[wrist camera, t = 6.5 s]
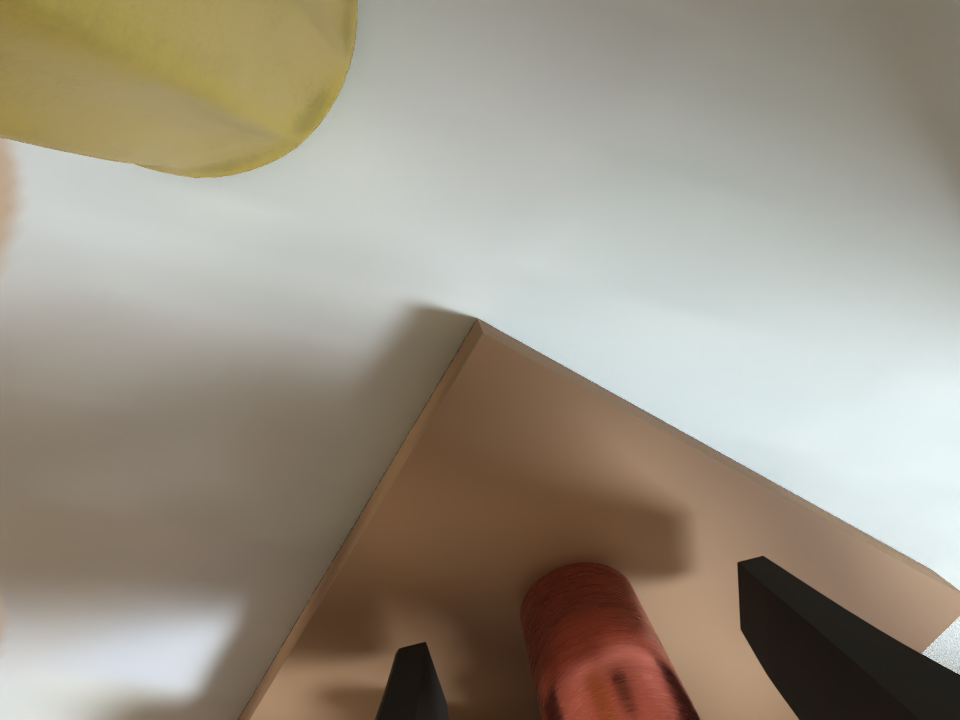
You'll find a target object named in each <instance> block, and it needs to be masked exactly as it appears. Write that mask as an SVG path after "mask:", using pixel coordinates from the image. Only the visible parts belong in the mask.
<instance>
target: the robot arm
mask: <svg viewBox="0 0 960 720" xmlns="http://www.w3.org/2000/svg"><path fill="white" fill-rule="evenodd" d="M737 569H738V589H739V610H740V629H741V631H742V633H743V635H744V636H745V638H746V640H747V642H748V643H749V645H750V647H751V649H752V650H753V652H754V654H755V656H756V657H757V659H758V661H759V662H760V664H761V666H762V667H763V669H764V671H765V672H766V674H767V676H768V677H769V679H770V680H771V681H772V683H773V684H774V686H775V687H776V688H777V690H778V691H779V693H780V694H781V695H782V697H783V698H784V700H785V701H786V702H787V704H788V705H789V706H790V708H791V709H792V711H793V712H794V713H795V715H796V716H797V717H798V719H799V720H960V675H959V674H957V673H955V672H953V671H951V670H950V669H948V668H946V667H944V666H942V665H940V664H938V663H937V662H935V661H933V660H931V659H929V658H928V657H926V656H924V655H922V654H921V653H919V652H917V651H915V650H913V649H912V648H910V647H908V646H906V645H905V644H903V643H901V642H899V641H898V640H896V639H894V638H893V637H891V636H889V635H888V634H886V633H884V632H882V631H881V630H879V629H878V628H876V627H874V626H873V625H871V624H869V623H868V622H866V621H864V620H863V619H861V618H860V617H858V616H856V615H855V614H853V613H851V612H850V611H848V610H847V609H845V608H843V607H842V606H840V605H839V604H837V603H836V602H834V601H832V600H831V599H829V598H828V597H826V596H825V595H823V594H821V593H820V592H818V591H817V590H815V589H814V588H812V587H811V586H809V585H808V584H806V583H805V582H803V581H801V580H800V579H798V578H797V577H795V576H794V575H792V574H791V573H789V572H788V571H786V570H785V569H783V568H782V567H780V566H779V565H777V564H775V563H774V562H772V561H771V560H769V559H768V558H766V557H765V556H760V557H756V558H752V559H748V560H744V561H740V562H737ZM375 720H449V715H448V705H447V702H446V699H445V696H444V693H443V690H442V687H441V684H440V682H439V679H438V676H437V673H436V670H435V667H434V664H433V661H432V658H431V655H430V652H429V649H428V646H427V643H426V642H422V643H418V644H414V645H410V646H406V647H402V648H399V649H398V651H397V652H396V654H395V657H394V661H393V664H392V668H391V671H390V675H389V678H388V681H387V685H386V688H385V691H384V694H383V697H382V700H381V703H380V706H379V709H378V712H377V715H376V718H375Z"/></svg>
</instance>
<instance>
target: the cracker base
mask: <svg viewBox="0 0 960 720" xmlns="http://www.w3.org/2000/svg"><path fill="white" fill-rule="evenodd" d="M760 556H765V557H766V558H768V559H769V560H771V561H772V562H774V563H775V564H777V565H779V566H780V567H782V568H783V569H785V570H786V571H788V572H789V573H791V574H792V575H794V576H795V577H797V578H798V579H800V580H801V581H803V582H805V583H806V584H808V585H809V586H811V587H812V588H814V589H815V590H817V591H818V592H820V593H821V594H823V595H825V596H826V597H828V598H829V599H831V600H832V601H834V602H836V603H837V604H839V605H840V606H842V607H843V608H845V609H847V610H848V611H850V612H851V613H853V614H855V615H856V616H858V617H860V618H861V619H863V620H864V621H866V622H868V623H869V624H871V625H873V626H874V627H876V628H878V629H879V630H881V631H882V632H884V633H886V634H888V635H889V636H891V637H893V638H894V639H896V640H898V641H899V642H901V643H903V644H905V645H906V646H908V647H910V648H912V649H913V650H915V651H917V652H919V653H922V652H923V651H924V650H925V649H926V648H927V647H928V646H929V645H930V644H931V643H932V642H933V641H934V640H935V639H936V638H937V637H938V636H940V635H941V634H942V633H943V632H944V631H945V630H946V629H947V628H948V627H949V626H950V625H951V624H952V623H953V622H954V621H955V620H956V619H957V618H958V617H959V616H960V591H959V590H958V589H957V588H955V587H954V586H953V585H951V584H950V583H949V582H947V581H946V580H945V579H943V578H942V577H941V576H939V575H938V574H937V573H935V572H934V571H933V570H931V569H929V568H927V567H925V566H924V565H922V564H920V563H918V562H916V561H915V560H913V559H911V558H909V557H907V556H905V555H904V554H902V553H900V552H898V551H896V550H895V549H893V548H891V547H889V546H887V545H886V544H884V543H882V542H880V541H878V540H877V539H875V538H873V537H871V536H869V535H868V534H866V533H864V532H862V531H860V530H859V529H857V528H855V527H853V526H851V525H850V524H848V523H846V522H844V521H842V520H841V519H839V518H837V517H835V516H833V515H831V514H830V513H828V512H826V511H824V510H822V509H821V508H819V507H817V506H815V505H813V504H812V503H810V502H808V501H806V500H804V499H803V498H801V497H799V496H797V495H795V494H794V493H792V492H790V491H788V490H786V489H785V488H783V487H781V486H779V485H777V484H776V483H774V482H772V481H770V480H768V479H767V478H765V477H763V476H761V475H759V474H758V473H756V472H754V471H752V470H750V469H748V468H747V467H745V466H743V465H741V464H739V463H738V462H736V461H734V460H732V459H730V458H729V457H727V456H725V455H723V454H721V453H720V452H718V451H716V450H714V449H712V448H711V447H709V446H707V445H705V444H703V443H702V442H700V441H698V440H696V439H694V438H693V437H691V436H689V435H687V434H685V433H684V432H682V431H680V430H678V429H676V428H674V427H673V426H671V425H669V424H667V423H665V422H664V421H662V420H660V419H658V418H656V417H655V416H653V415H651V414H649V413H647V412H646V411H644V410H642V409H640V408H638V407H637V406H635V405H633V404H631V403H629V402H628V401H626V400H624V399H622V398H620V397H619V396H617V395H615V394H613V393H611V392H610V391H608V390H606V389H604V388H602V387H600V386H599V385H597V384H595V383H593V382H591V381H590V380H588V379H586V378H584V377H582V376H581V375H579V374H577V373H575V372H573V371H572V370H570V369H568V368H566V367H564V366H563V365H561V364H559V363H557V362H555V361H554V360H552V359H550V358H548V357H546V356H545V355H543V354H541V353H539V352H537V351H536V350H534V349H532V348H530V347H528V346H526V345H525V344H523V343H521V342H519V341H517V340H516V339H514V338H512V337H510V336H508V335H507V334H505V333H503V332H501V331H499V330H498V329H496V328H494V327H492V326H490V325H489V324H487V323H485V322H483V321H481V320H480V319H478V318H477V320H476V322H475V323H474V325H473V327H472V328H471V330H470V332H469V333H468V335H467V337H466V338H465V340H464V342H463V343H462V345H461V347H460V348H459V350H458V352H457V353H456V355H455V357H454V359H453V360H452V362H451V364H450V365H449V367H448V369H447V370H446V372H445V374H444V375H443V377H442V379H441V380H440V382H439V384H438V385H437V387H436V389H435V390H434V392H433V394H432V395H431V397H430V399H429V400H428V402H427V404H426V405H425V407H424V409H423V411H422V412H421V414H420V416H419V417H418V419H417V421H416V422H415V424H414V426H413V427H412V429H411V431H410V432H409V434H408V436H407V437H406V439H405V441H404V442H403V444H402V446H401V447H400V449H399V451H398V452H397V454H396V456H395V457H394V459H393V461H392V463H391V464H390V466H389V468H388V469H387V471H386V473H385V474H384V476H383V478H382V479H381V481H380V483H379V484H378V486H377V488H376V489H375V491H374V493H373V494H372V496H371V498H370V499H369V501H368V503H367V504H366V506H365V508H364V509H363V511H362V513H361V515H360V516H359V518H358V520H357V521H356V523H355V525H354V526H353V528H352V530H351V531H350V533H349V535H348V536H347V538H346V540H345V541H344V543H343V545H342V546H341V548H340V550H339V551H338V553H337V555H336V556H335V558H334V560H333V561H332V563H331V565H330V566H329V568H328V570H327V572H326V573H325V575H324V577H323V578H322V580H321V582H320V583H319V585H318V587H317V588H316V590H315V592H314V593H313V595H312V597H311V598H310V600H309V602H308V603H307V605H306V607H305V608H304V610H303V612H302V613H301V615H300V617H299V618H298V620H297V622H296V624H295V625H294V627H293V629H292V630H291V632H290V634H289V635H288V637H287V639H286V640H285V642H284V644H283V645H282V647H281V649H280V650H279V652H278V654H277V655H276V657H275V659H274V660H273V662H272V664H271V665H270V667H269V669H268V670H267V672H266V674H265V676H264V677H263V679H262V681H261V682H260V684H259V686H258V687H257V689H256V691H255V692H254V694H253V696H252V697H251V699H250V701H249V702H248V704H247V706H246V707H245V709H244V711H243V712H242V714H241V716H240V717H239V719H238V720H375V718H376V715H377V712H378V709H379V706H380V703H381V700H382V697H383V694H384V691H385V688H386V685H387V681H388V678H389V675H390V671H391V668H392V664H393V661H394V657H395V654H396V652H397V651H398V649H399V648H402V647H406V646H410V645H414V644H418V643H422V642H426V643H427V646H428V649H429V652H430V655H431V658H432V661H433V664H434V667H435V670H436V673H437V676H438V679H439V682H440V684H441V687H442V690H443V693H444V696H445V699H446V702H447V705H448V715H449V720H541V715H540V710H539V706H538V701H537V697H536V692H535V687H534V683H533V678H532V674H531V669H530V665H529V660H528V655H527V651H526V646H525V642H524V637H523V632H522V628H521V623H520V610H521V605H522V603H523V600H524V598H525V596H526V594H527V593H528V591H529V590H530V588H531V587H532V586H533V585H534V584H535V583H536V582H537V581H538V580H539V579H540V578H542V577H543V576H545V575H546V574H548V573H549V572H551V571H553V570H555V569H557V568H560V567H562V566H566V565H569V564H574V563H581V562H594V563H600V564H604V565H608V566H610V567H612V568H614V569H616V570H618V571H619V572H621V573H622V574H623V575H624V576H625V577H626V578H627V579H628V580H629V582H630V584H631V585H632V587H633V589H634V591H635V593H636V595H637V597H638V599H639V601H640V603H641V605H642V607H643V608H644V610H645V612H646V614H647V616H648V618H649V620H650V622H651V624H652V626H653V628H654V630H655V632H656V634H657V635H658V637H659V639H660V641H661V643H662V645H663V647H664V649H665V651H666V653H667V655H668V657H669V659H670V661H671V662H672V664H673V666H674V668H675V670H676V672H677V674H678V676H679V678H680V680H681V682H682V684H683V686H684V688H685V689H686V691H687V693H688V695H689V697H690V699H691V701H692V703H693V705H694V707H695V709H696V711H697V713H698V715H699V716H700V718H701V720H799V719H798V717H797V716H796V715H795V713H794V712H793V711H792V709H791V708H790V706H789V705H788V704H787V702H786V701H785V700H784V698H783V697H782V695H781V694H780V693H779V691H778V690H777V688H776V687H775V686H774V684H773V683H772V681H771V680H770V679H769V677H768V676H767V674H766V672H765V671H764V669H763V667H762V666H761V664H760V662H759V661H758V659H757V657H756V656H755V654H754V652H753V650H752V649H751V647H750V645H749V643H748V642H747V640H746V638H745V636H744V635H743V633H742V631H741V629H740V610H739V589H738V569H737V562H740V561H744V560H748V559H752V558H756V557H760Z"/></svg>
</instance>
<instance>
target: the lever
mask: <svg viewBox="0 0 960 720" xmlns="http://www.w3.org/2000/svg"><path fill="white" fill-rule="evenodd" d="M520 623H521V628H522V632H523V637H524V642H525V646H526V651H527V655H528V660H529V665H530V669H531V674H532V678H533V683H534V687H535V692H536V697H537V701H538V706H539V710H540V715H541V720H701V718H700V716H699V715H698V713H697V711H696V709H695V707H694V705H693V703H692V701H691V699H690V697H689V695H688V693H687V691H686V689H685V688H684V686H683V684H682V682H681V680H680V678H679V676H678V674H677V672H676V670H675V668H674V666H673V664H672V662H671V661H670V659H669V657H668V655H667V653H666V651H665V649H664V647H663V645H662V643H661V641H660V639H659V637H658V635H657V634H656V632H655V630H654V628H653V626H652V624H651V622H650V620H649V618H648V616H647V614H646V612H645V610H644V608H643V607H642V605H641V603H640V601H639V599H638V597H637V595H636V593H635V591H634V589H633V587H632V585H631V584H630V582H629V580H628V579H627V578H626V577H625V576H624V575H623V574H622V573H621V572H619V571H618V570H616V569H614V568H612V567H610V566H608V565H604V564H600V563H594V562H581V563H574V564H569V565H566V566H562V567H560V568H557V569H555V570H553V571H551V572H549V573H548V574H546V575H545V576H543V577H542V578H540V579H539V580H538V581H537V582H536V583H535V584H534V585H533V586H532V587H531V588H530V590H529V591H528V593H527V594H526V596H525V598H524V600H523V603H522V605H521V610H520Z"/></svg>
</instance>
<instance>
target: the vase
mask: <svg viewBox="0 0 960 720" xmlns="http://www.w3.org/2000/svg"><path fill="white" fill-rule="evenodd" d="M356 25H357V0H0V138H6V139H11V140H15V141H19V142H24V143H28V144H32V145H37V146H41V147H46V148H50V149H55V150H60V151H64V152H69V153H74V154H79V155H85V156H90V157H95V158H100V159H105V160H110V161H116V162H124V163H133V164H136V165H139V166H142V167H145V168H149V169H152V170H156V171H160V172H164V173H171V174H175V175H179V176H186V177H193V178H201V177H222V176H228V175H234V174H238V173H242V172H246V171H250V170H252V169H255V168H258V167H261V166H263V165H266V164H268V163H270V162H273V161H275V160H277V159H279V158H281V157H283V156H284V155H286V154H287V153H289V152H290V151H292V150H293V149H295V148H297V147H298V146H299V145H300V144H301V143H302V142H303V141H304V140H305V139H306V138H307V137H308V136H309V135H310V134H311V133H312V132H313V131H314V130H315V129H316V127H317V126H318V125H319V124H320V123H321V121H322V120H323V118H324V117H325V115H326V114H327V112H328V111H329V109H330V108H331V106H332V104H333V102H334V101H335V99H336V97H337V96H338V94H339V91H340V89H341V87H342V85H343V82H344V80H345V77H346V74H347V72H348V69H349V66H350V62H351V58H352V54H353V49H354V43H355V37H356Z"/></svg>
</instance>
